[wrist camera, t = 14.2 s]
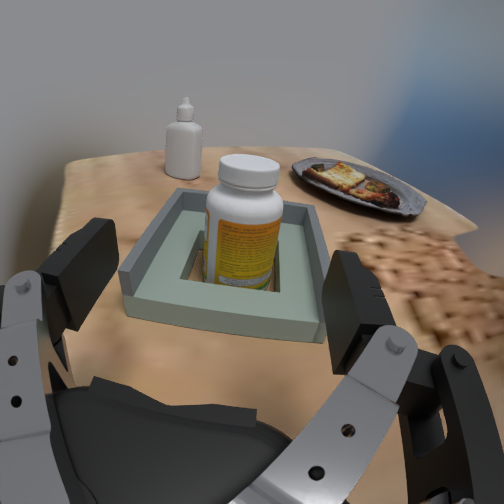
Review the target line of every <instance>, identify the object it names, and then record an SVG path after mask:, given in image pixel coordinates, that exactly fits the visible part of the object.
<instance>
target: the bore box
mask: <svg viewBox="0 0 504 504" xmlns="http://www.w3.org/2000/svg"><path fill="white" fill-rule="evenodd" d="M209 192H210V191H202V190H193V189H183V188H177V189H176V191H175V192H174V193H173V194H172V196H171V197H170V198H169V199H168V201H167V202H166V203H165V205H164V206H163V207H162V209H161V210H160V211H159V213H158V214H157V215H156V217H155V218H154V219H153V221H152V222H151V223H150V225H149V226H148V227H147V229H146V230H145V232H144V233H143V234H142V236H141V237H140V239H139V240H138V241H137V243H136V244H135V246H134V247H133V249H132V250H131V251H130V253H129V254H128V256H127V257H126V259H125V260H124V262H123V263H122V265H121V266H120V268H119V269H118V274H119V280H120V285H121V290H122V295H123V300H124V304H125V309H126V313H127V316H130V317H135V318H139V319H144V320H149V321H155V322H160V323H165V324H171V325H176V326H182V327H188V328H194V329H201V330H207V331H214V332H221V333H228V334H235V335H243V336H251V337H260V338H269V339H278V340H288V341H300V342H312V343H323V342H324V340H325V337H326V335H327V331H326V325H325V318H324V313H323V307H322V300H321V295H322V288H323V284H324V281H325V278H326V275H327V272H328V268H329V265H330V262H331V261H330V257H329V254H328V250H327V247H326V243H325V240H324V236H323V233H322V230H321V226H320V223H319V220H318V216H317V213H316V210H315V207H314V205H308V204H301V203H295V202H288V201H283V214H282V220H281V225H280V230H279V235H278V241H277V246H276V251H275V256H274V259H275V292H271V291H263V290H255V289H247V288H239V287H232V286H225V285H217V284H210V283H203V282H196V281H190V280H188V277H189V275H190V272H191V269H192V267H193V264H194V261H195V259H196V256H197V253H198V251H199V249H202V250H204V232H205V212H206V200H207V196H208V193H209Z"/></svg>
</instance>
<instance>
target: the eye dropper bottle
mask: <svg viewBox="0 0 504 504" xmlns="http://www.w3.org/2000/svg"><path fill="white" fill-rule="evenodd" d="M193 116H194V107H193V106H191V105H190V103H189V98H184V100H183V103H182V105H180V106H178V107H177V120H178V121H177V122H174V123H171V124H170V125H168V127H167V130H166V152H165V172H166V174H168V175H169V176H171V177H174V178H178V179H184V180H192V179H195V178H197V177H199V176H200V170H201V153H202V137H203V131H202V128H201V127H200V126H199V125H197V124H196V123H194V122H193V121H191V120H193Z"/></svg>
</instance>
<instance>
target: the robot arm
mask: <svg viewBox="0 0 504 504" xmlns="http://www.w3.org/2000/svg"><path fill="white" fill-rule="evenodd" d="M118 263H119V252H118V245H117V237H116V229H115V223H114V221H113V220H111V219H103V218H93V219H91V220H90V221H89V222H88V223H87V224H86V225H85V226H84V227H83V228H82V229H80V230H78V231H76V232H75V233H73V234H71V235H70V236H69V237H68V238H67V239H66V240H65V241H64V242H63V243H62V244H61V245H60V246H59V247H58V248H57V249H56V251H54V252H53V253H52V254H51V255H50V256H49V257H48V258H47V259H46V260H45V262H44V263H43V264H42V265H41V266H40V267H39V268H38V269H37V270H36V271H24V272H21V273H18V274H16V275H15V276H13V277H12V278H11V279H10V280H9V281H8V282H7V284H6V285H2V286H0V504H350V503H349V502H348V501H347V500H346V497H347V496H348V495H349V493H350V492H351V490H352V489H353V487H354V486H355V484H356V483H357V481H358V480H359V478H360V477H361V475H362V474H363V472H364V471H365V469H366V468H367V466H368V464H369V463H370V461H371V459H372V458H373V456H374V454H375V453H376V451H377V449H378V448H379V446H380V444H381V442H382V441H383V439H384V437H385V435H386V433H387V431H388V429H389V428H390V426H391V424H392V422H393V420H394V418H395V416H396V414H397V413H398V416H399V423H400V429H401V436H402V443H403V451H404V459H405V469H406V479H407V492H408V504H504V453H503V449H502V445H501V441H500V437H499V433H498V430H497V426H496V423H495V419H494V416H493V413H492V409H491V406H490V403H489V400H488V397H487V394H486V391H485V389H484V386H483V383H482V380H481V378H480V375H479V373H478V370H477V367H476V365H475V362H474V360H473V358H472V357H471V355H470V354H469V353H468V352H467V351H466V350H464V349H463V348H461V347H459V346H457V345H447V346H445V347H444V348H443V349H442V351H441V352H440V353H439V355H437V354H433V353H430V352H427V351H423V350H420V349H418V347H417V343H416V341H415V339H414V338H413V337H412V336H411V335H410V334H409V333H408V332H407V331H405V330H404V329H402V328H400V327H397V326H396V323H395V321H394V318H393V316H392V313H391V311H390V308H389V306H388V303H387V301H386V299H385V298H384V297H385V296H384V293H383V291H382V290H381V286H380V284H379V282H378V279H377V277H376V276H375V275H374V274H373V273H372V272H371V271H370V270H369V269H368V268H363V267H362V264H361V262H360V259H359V257H358V255H357V253H355V252H348V251H341V250H335V251H334V253H333V256H332V259H331V262H330V265H329V268H328V272H327V275H326V278H325V281H324V284H323V288H322V295H321V300H322V307H323V313H324V318H325V325H326V331H327V337H328V343H329V350H330V357H331V364H332V371H333V374H336V375H345V377H344V378H343V379H342V381H341V382H340V383H339V385H338V386H337V387H336V389H335V390H334V391H333V393H332V394H331V395H330V397H329V398H328V399H327V401H326V402H325V403H324V404H323V406H322V407H321V408H320V409H319V411H318V412H317V413H316V414H315V416H314V417H313V418H312V419H311V420H310V422H309V423H308V424H307V425H306V426H305V428H304V429H303V430H302V431H301V432H300V433H299V435H298V436H297V437H296V438H295V439H294V440H292V439H290V438H289V437H288V436H287V435H285V434H284V433H283V432H281V431H279V430H278V429H276V428H274V427H272V426H270V425H268V424H266V423H263V422H260V421H257V420H256V413H257V409H250V408H241V407H232V406H225V405H218V404H204V405H180V406H169V405H165V404H163V403H161V402H159V401H157V400H155V399H153V398H151V397H149V396H147V395H145V394H143V393H141V392H139V391H137V390H135V389H133V388H132V387H130V386H126V385H123V384H119V383H115V382H112V381H109V380H105V379H102V378H99V377H96V376H94V377H93V380H92V382H91V384H90V386H82V387H76V385H75V382H74V379H73V375H72V371H71V366H70V362H69V357H68V352H67V347H66V341H65V337H64V335H63V332H64V330H65V329H66V328H67V329H70V330H74V331H77V332H78V330H79V329H80V327H81V325H82V324H83V322H84V320H85V319H86V317H87V315H88V314H89V312H90V311H91V309H92V307H93V306H94V304H95V302H96V301H97V299H98V298H99V296H100V295H101V293H102V291H103V290H104V288H105V287H106V285H107V284H108V282H109V281H110V279H111V278H112V276H113V275H114V273H115V272H116V270H117V267H118ZM442 408H443V412H444V416H445V420H446V424H447V437H446V439H445V436H444V431H443V427H442V422H441V418H440V414H439V411H440V410H441V409H442Z"/></svg>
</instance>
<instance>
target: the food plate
mask: <svg viewBox="0 0 504 504" xmlns="http://www.w3.org/2000/svg"><path fill="white" fill-rule="evenodd" d="M313 158H316V157H313ZM301 161H302V162H300V161H298V162H297V163H294V164H293V165H292V170H293V171H294V172H295V174H297V176H298V177H299V178H301V179H303V180H304V181H305V182H306V183H307V184H310V185H314V186H316V187H317V188H320V189H323V190H324V191H327V192H329V193H331V194H334V195H336V196H338V197H339V198H341V199H342V200H347V201H350V202H353V203H356V204H359V205H362V206H367V207H372V208H376V209H379V210H382V211H384V212H387V213H394V214H400V213H402V216H405V217H406V216H408V215H409V214H412V216H417V215H419V214H421V212H422V210H423V208H424V206H425V205H426V203H427V201H426V200H425V198H424V197H423V196H421V195H420V194H418V193H417V192H416V191H414V190H413V189H412V188H411V187H409V186H408V185H406V184H404V183H402V182H401V181H399V180H397V179H395V178H393V177H390V176H388V175H387V174H385V173H381V172H379V171H376V170H373V169H371V168H368V167H365V166H360V165H357V164H353V163H350V162H346V161H340V160H334V159H320V158H318V159H312V158H307V159H304V160H301ZM364 179H366V180H368V181H370V182H368V183H367V185H366V186H363V183H364V181H365V180H364ZM390 191H392V192H390ZM387 192H388V193H387ZM385 193H387V194H385ZM399 197H400V198H401V199H400V198H399ZM401 201H403V202H402V203H403V204H404V205H405V206H402V205H403V204H402V203H400V202H401ZM400 204H402V205H400ZM399 205H400V206H399ZM402 207H403V208H402ZM407 210H408V211H407ZM400 217H401V214H400Z"/></svg>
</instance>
